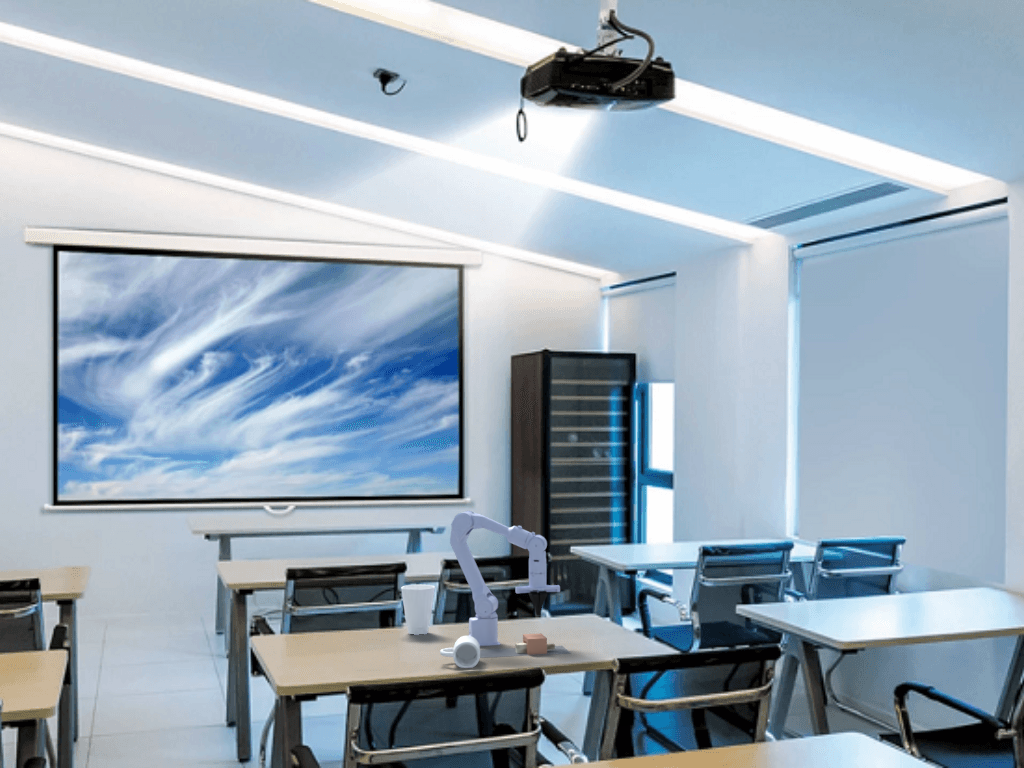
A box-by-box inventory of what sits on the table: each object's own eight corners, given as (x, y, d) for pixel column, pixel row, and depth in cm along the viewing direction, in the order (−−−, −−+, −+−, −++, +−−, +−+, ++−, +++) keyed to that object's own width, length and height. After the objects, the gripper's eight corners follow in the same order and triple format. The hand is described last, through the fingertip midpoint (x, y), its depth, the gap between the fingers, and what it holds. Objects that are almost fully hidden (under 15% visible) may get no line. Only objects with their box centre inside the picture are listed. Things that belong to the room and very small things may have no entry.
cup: (398, 631, 370) (397, 585, 370) (431, 629, 373) (430, 583, 374) (404, 637, 358) (404, 590, 359) (438, 635, 362) (438, 588, 363)
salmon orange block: (528, 654, 327) (528, 639, 327) (523, 649, 335) (522, 634, 335) (547, 653, 328) (546, 638, 328) (541, 648, 336) (541, 633, 336)
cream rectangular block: (517, 653, 329) (517, 644, 329) (515, 651, 332) (515, 643, 332) (555, 651, 331) (555, 643, 332) (553, 649, 334) (553, 641, 334)
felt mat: (469, 659, 323) (469, 658, 323) (464, 651, 334) (464, 650, 334) (571, 654, 329) (571, 653, 329) (562, 646, 340) (562, 645, 340)
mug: (480, 661, 320) (479, 635, 320) (480, 669, 310) (480, 641, 310) (440, 662, 320) (440, 635, 320) (439, 669, 310) (439, 642, 310)
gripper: (518, 575, 339) (518, 617, 338) (562, 573, 341) (562, 615, 341) (514, 572, 346) (514, 614, 345) (557, 570, 348) (557, 612, 348)
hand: (538, 614), depth 343 cm, fingers closed
